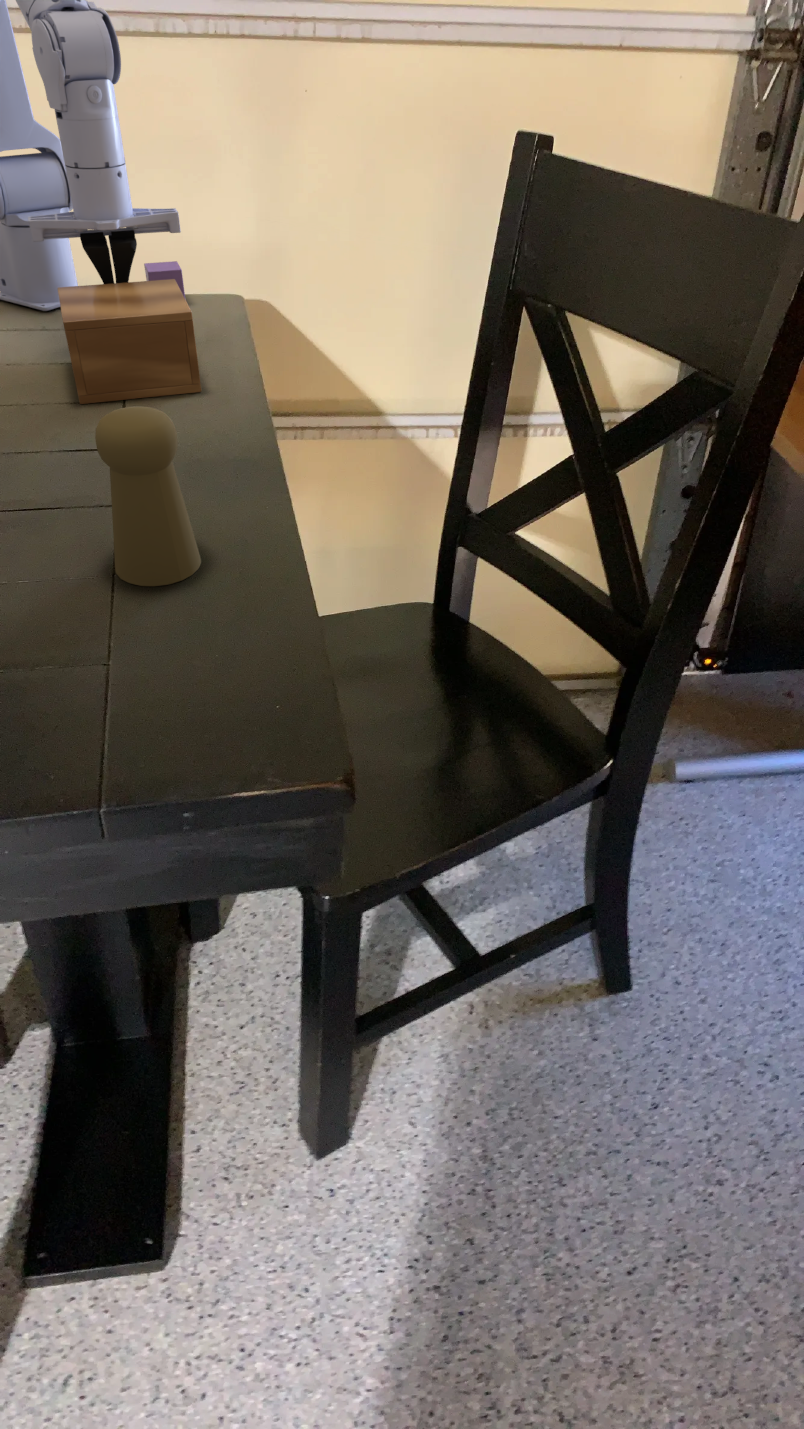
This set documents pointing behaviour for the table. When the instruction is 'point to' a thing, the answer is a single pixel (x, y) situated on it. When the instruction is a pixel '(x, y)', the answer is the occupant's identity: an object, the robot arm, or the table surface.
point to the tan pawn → (146, 498)
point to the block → (165, 272)
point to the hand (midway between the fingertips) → (120, 310)
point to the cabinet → (130, 340)
